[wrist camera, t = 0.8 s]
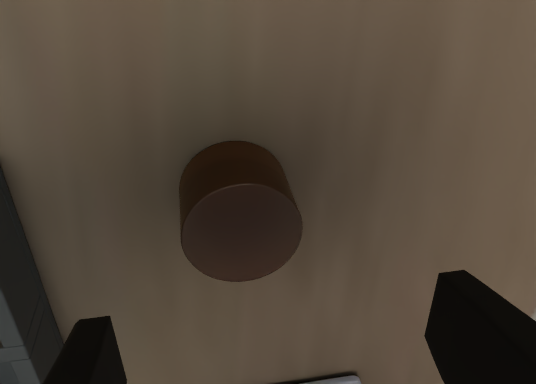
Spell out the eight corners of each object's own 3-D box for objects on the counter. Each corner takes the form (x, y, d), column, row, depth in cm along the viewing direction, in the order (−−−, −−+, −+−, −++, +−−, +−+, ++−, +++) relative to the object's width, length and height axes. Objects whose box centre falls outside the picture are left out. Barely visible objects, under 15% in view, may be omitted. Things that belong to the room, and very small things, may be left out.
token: (285, 225, 20) (301, 274, 17) (185, 236, 19) (187, 289, 17) (285, 135, 18) (304, 177, 15) (173, 145, 17) (173, 190, 15)
